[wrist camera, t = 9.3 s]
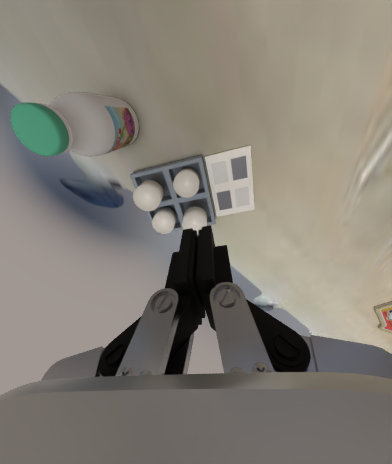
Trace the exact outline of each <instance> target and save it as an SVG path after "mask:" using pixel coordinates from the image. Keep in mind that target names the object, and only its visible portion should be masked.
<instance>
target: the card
mask: <svg viewBox="0 0 392 464" xmlns="http://www.w3.org/2000/svg"><path fill="white" fill-rule="evenodd" d="M205 161H206V166H207V171H208V176H209V181H210V186H211V191H212V196H213V201H214V206H215V211H216V215H217V217H218V216H223V215H228V214H234V213H239V212H245V211H250V210H255V207H254V193H253V179H252V164H251V150H250V145H249V146H245V147H241V148H237V149H233V150H229V151H225V152H221V153H217V154H213V155H209V156H205Z"/></svg>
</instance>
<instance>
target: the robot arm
mask: <svg viewBox="0 0 392 464" xmlns="http://www.w3.org/2000/svg"><path fill="white" fill-rule="evenodd" d="M205 310H206V313H207V316H208V319H209V323H210V326H211V327H212V328H213V329H214V330H215V331H216V333H217V339H218V343H219V349H220V354H221V359H222V364H223V368H224V373H221V374H187V371H188V366H189V360H190V355H191V350H192V344H193V339H194V331H195V330H196V329H197V328H198V325H201V324H202V318H205ZM0 464H392V354H391V353H389V352H387V351H385V350H384V349H382V348H379V347H376V346H373V345H367V344H362V343H356V342H350V341H344V340H338V339H332V338H326V337H320V336H314V335H311V336H310V337H306V336H301V335H299V334H297V333H296V332H295V331H294V330H292V329H291V328H289V327H288V326H286V325H285V324H283V323H282V322H280V321H279V320H277V319H275V318H274V317H272V316H271V315H269V314H268V313H266V312H265V311H263V310H262V309H260V308H259V307H257V306H256V305H254V304H253V303H251V302H250V301H248V300H246V298H245V296H244V294H243V291H242V290H241V288H240V287H239V286H238V285H236V284H234V283H233V281H232V275H231V269H230V262H229V256H228V250H227V245H224V246H217V247H215V243H214V238H213V233H212V228H211V225H210V226H203V227H202V229H200V230H199V231H198V235H197V231H196V230H193V229H192V228H190V229H184V230H183V233H182V239H181V244H180V250H179V252H174V253H173V255H172V258H171V263H170V267H169V272H168V276H167V281H166V286H165V289H161V290H159V291H157V292H156V293H154V294H153V295H152V296H151V298H150V299H149V301H148V304H147V306H146V308H145V310H144V313H143V315H142V316H141V317H140V318H139V319H138V320H136V321H135V322H134V323H133V324H132V325H131V326H129V327H128V328H127V329H126V330H125V331H124V332H122V333H121V334H120V335H119V336H118V337H117V338H115V339H114V340H113V341H112V342H111V343H110V344H109V345H108V346H107V347H106V348H103V347H99V348H95V349H92V350H89V351H86V352H83V353H80V354H77V355H73V356H70V357H67V358H64V359H62V360H60V361H58V362H56V363H55V364H54V365H52V366H51V367H50V368H49V370H48V371H47V372H46V373H45V375H44V377H43V378H42V380H41V381H38V382H33V383H29V384H26V385H23V386H20V387H17V388H15V389H13V390H11V391H8V392H7V393H4V394H2V395H0Z"/></svg>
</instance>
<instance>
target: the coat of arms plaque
mask: <svg viewBox="0 0 392 464" xmlns="http://www.w3.org/2000/svg"><path fill="white" fill-rule="evenodd" d="M374 310H375V312H376V314H377V316H378V319H379V321H380V324H379V325H378V328H379V329H380V330H382V331H385V332H389V333H392V301H390V302H387V303H384V304H381V305H378V306H374Z"/></svg>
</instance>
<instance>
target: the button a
mask: <svg viewBox="0 0 392 464" xmlns="http://www.w3.org/2000/svg"><path fill="white" fill-rule="evenodd" d="M163 195H164V192H163V189H162V187H161V186H160V184H158V183H157V182H155V181H152V180H146V181H144V182H142V183H141V184H140V185H139V187H138V188H137V189H136V190H135V191H134V193H133V200H134V202H135V204H136V205H137V206H138V207H139V208H140V209H142V210H144V211H153V210H155V209H156V208H157V207H158V206H159V204H160V202H161V200H162V198H163Z"/></svg>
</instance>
